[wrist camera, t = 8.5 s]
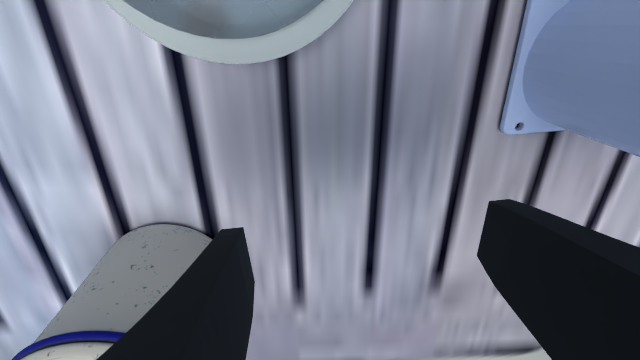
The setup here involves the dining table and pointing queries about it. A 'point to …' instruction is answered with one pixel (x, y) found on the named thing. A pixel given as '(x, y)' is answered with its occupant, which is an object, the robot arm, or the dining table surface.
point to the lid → (225, 15)
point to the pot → (242, 48)
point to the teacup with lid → (118, 292)
